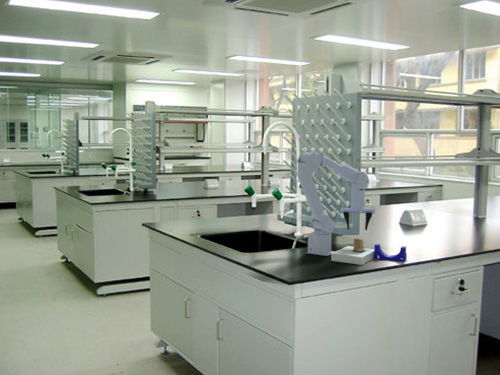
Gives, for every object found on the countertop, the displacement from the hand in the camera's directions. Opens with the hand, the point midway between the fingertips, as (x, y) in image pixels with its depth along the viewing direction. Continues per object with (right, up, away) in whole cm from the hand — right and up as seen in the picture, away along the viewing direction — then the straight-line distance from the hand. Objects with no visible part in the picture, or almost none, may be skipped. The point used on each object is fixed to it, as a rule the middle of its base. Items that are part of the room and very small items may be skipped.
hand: (357, 229), depth 221 cm
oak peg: (-2, -11, -14) cm, 18 cm away
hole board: (-4, -11, -15) cm, 19 cm away
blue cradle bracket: (+10, -11, -16) cm, 22 cm away
